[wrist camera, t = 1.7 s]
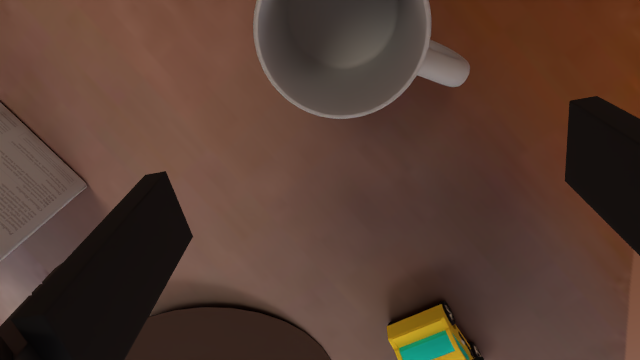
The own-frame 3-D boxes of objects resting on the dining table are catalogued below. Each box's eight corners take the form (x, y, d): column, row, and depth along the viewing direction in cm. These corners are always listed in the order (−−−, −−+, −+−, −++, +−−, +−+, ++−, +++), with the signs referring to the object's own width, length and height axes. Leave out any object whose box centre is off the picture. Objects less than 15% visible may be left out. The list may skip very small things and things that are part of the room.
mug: (266, 47, 31) (230, 86, 21) (305, -82, 27) (282, -106, 17) (415, 104, 32) (446, 167, 22) (472, -10, 28) (539, 5, 19)
